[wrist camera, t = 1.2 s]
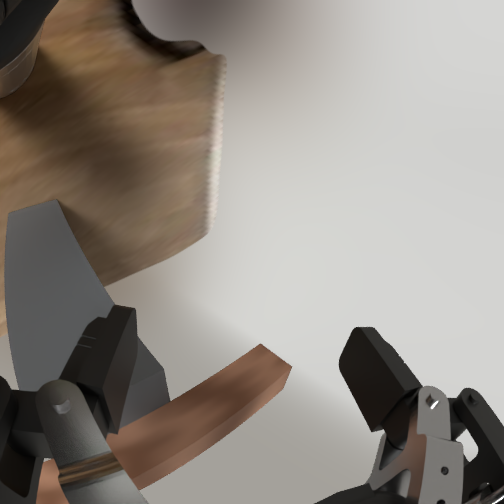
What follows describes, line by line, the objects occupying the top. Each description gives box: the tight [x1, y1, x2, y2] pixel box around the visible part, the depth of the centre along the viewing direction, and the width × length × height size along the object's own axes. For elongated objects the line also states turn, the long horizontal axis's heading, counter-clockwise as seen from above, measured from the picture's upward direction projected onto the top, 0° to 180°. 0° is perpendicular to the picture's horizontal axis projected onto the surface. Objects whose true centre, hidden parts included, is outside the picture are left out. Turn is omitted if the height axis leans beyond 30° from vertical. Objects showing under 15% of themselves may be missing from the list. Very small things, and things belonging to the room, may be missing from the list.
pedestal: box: [4, 199, 170, 435], centre depth 21 cm, size 8×10×32 cm
